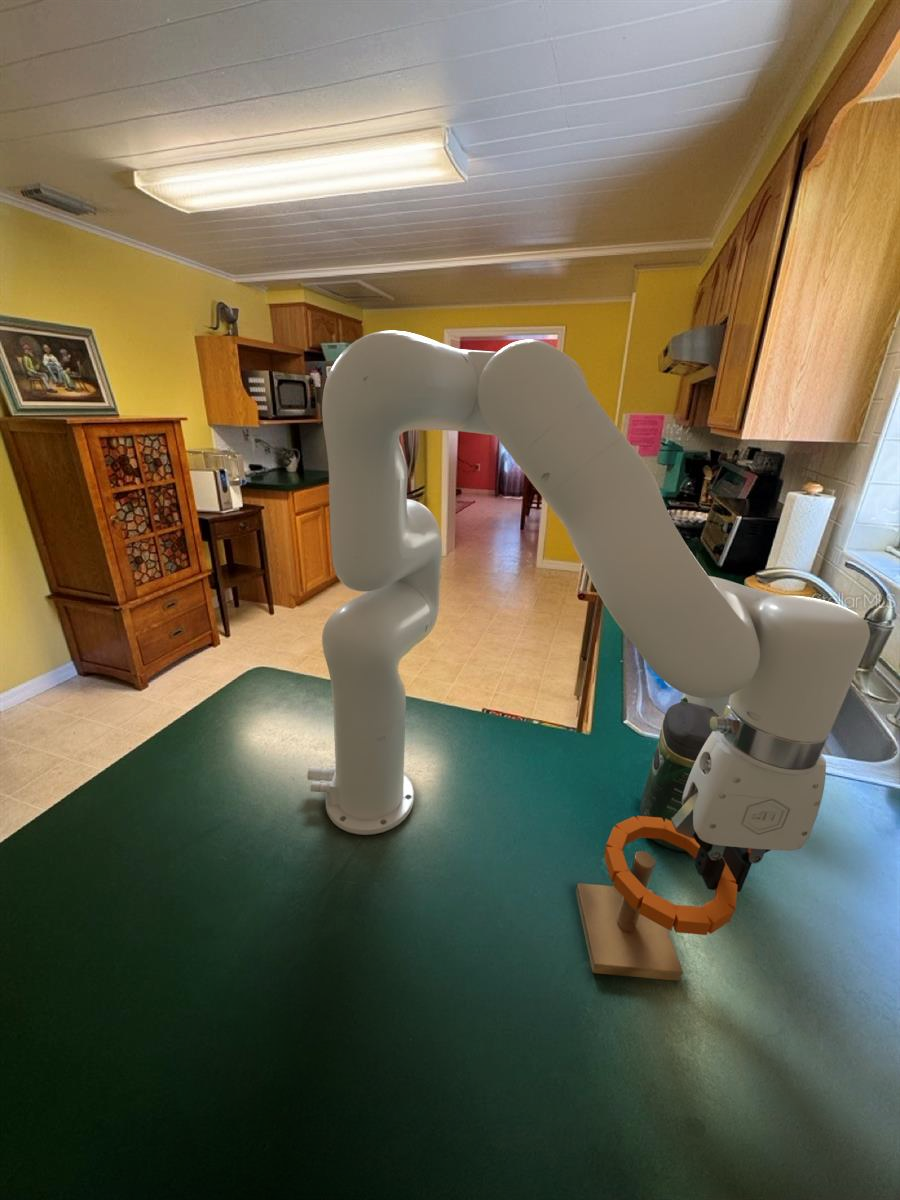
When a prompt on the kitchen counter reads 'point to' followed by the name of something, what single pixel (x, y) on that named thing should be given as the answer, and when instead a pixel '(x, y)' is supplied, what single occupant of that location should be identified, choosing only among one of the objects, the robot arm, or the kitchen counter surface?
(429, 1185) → the kitchen counter surface
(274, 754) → the kitchen counter surface
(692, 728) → the coffee jar
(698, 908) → the orange segmented ring
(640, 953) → the stand
